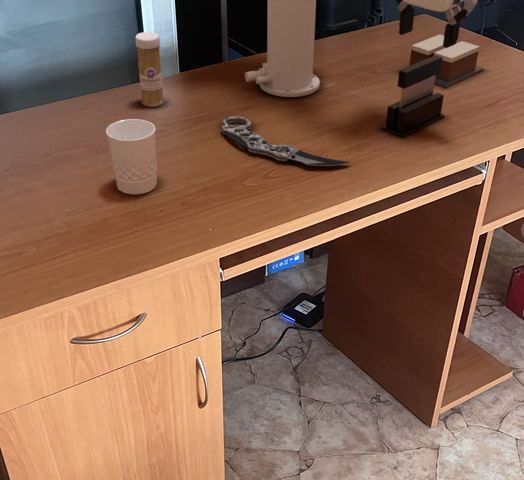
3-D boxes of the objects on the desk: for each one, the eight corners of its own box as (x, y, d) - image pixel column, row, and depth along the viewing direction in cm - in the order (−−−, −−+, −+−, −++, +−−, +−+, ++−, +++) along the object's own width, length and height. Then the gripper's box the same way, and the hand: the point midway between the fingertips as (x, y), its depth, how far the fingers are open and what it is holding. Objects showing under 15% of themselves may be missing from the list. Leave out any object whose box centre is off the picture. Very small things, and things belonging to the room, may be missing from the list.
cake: (445, 88, 165) (449, 61, 161) (399, 72, 171) (403, 46, 167) (483, 70, 172) (488, 44, 168) (438, 56, 179) (442, 31, 175)
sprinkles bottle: (145, 109, 156) (138, 40, 147) (139, 100, 159) (132, 32, 150) (167, 105, 157) (162, 37, 148) (160, 97, 160) (155, 29, 152)
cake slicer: (398, 130, 148) (406, 72, 141) (392, 127, 149) (399, 70, 141) (434, 113, 154) (442, 57, 146) (427, 111, 154) (435, 54, 147)
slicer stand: (402, 138, 147) (405, 114, 144) (381, 129, 149) (383, 106, 146) (444, 117, 154) (447, 95, 151) (422, 109, 156) (426, 87, 153)
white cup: (140, 201, 128) (134, 144, 122) (103, 188, 132) (95, 132, 125) (169, 181, 134) (165, 126, 127) (133, 169, 137) (127, 114, 130)
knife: (352, 158, 137) (314, 174, 132) (351, 166, 138) (314, 183, 133) (240, 111, 153) (201, 124, 147) (240, 119, 154) (201, 132, 148)
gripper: (384, -71, 133) (376, 33, 144) (471, -54, 123) (455, 56, 134) (411, -78, 137) (401, 23, 148) (497, -62, 127) (479, 45, 138)
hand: (427, 39), depth 141 cm, fingers open, 9 cm apart
